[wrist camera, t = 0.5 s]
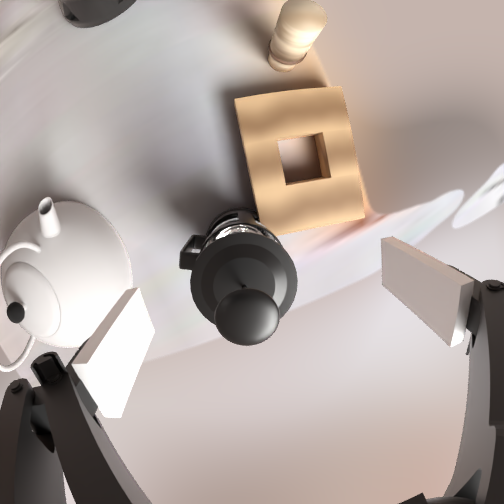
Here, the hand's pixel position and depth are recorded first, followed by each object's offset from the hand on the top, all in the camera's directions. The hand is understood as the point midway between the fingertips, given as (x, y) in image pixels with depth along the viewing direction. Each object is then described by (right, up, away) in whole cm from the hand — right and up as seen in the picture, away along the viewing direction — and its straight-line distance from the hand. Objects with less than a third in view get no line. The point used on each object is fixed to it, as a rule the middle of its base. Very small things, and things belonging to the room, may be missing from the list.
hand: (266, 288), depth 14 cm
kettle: (-30, 0, +25) cm, 39 cm away
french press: (-3, +3, +26) cm, 26 cm away
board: (+6, +14, +23) cm, 28 cm away
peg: (+4, +29, +19) cm, 35 cm away
